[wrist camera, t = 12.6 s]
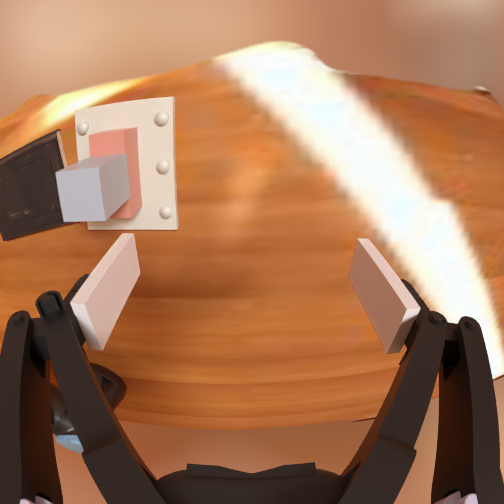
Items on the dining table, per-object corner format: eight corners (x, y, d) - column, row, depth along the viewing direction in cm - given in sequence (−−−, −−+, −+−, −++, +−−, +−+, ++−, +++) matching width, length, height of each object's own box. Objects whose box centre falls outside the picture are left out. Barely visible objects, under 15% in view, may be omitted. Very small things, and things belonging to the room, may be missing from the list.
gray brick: (92, 199, 35) (63, 221, 28) (87, 157, 32) (55, 172, 25) (130, 197, 35) (105, 220, 28) (126, 153, 32) (98, 167, 25)
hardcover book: (85, 216, 43) (78, 221, 41) (9, 236, 44) (3, 241, 42) (62, 128, 36) (54, 130, 33) (-12, 167, 36) (-19, 170, 34)
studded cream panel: (91, 226, 44) (74, 243, 38) (78, 110, 34) (57, 113, 29) (178, 226, 44) (170, 244, 39) (175, 96, 35) (163, 95, 29)
